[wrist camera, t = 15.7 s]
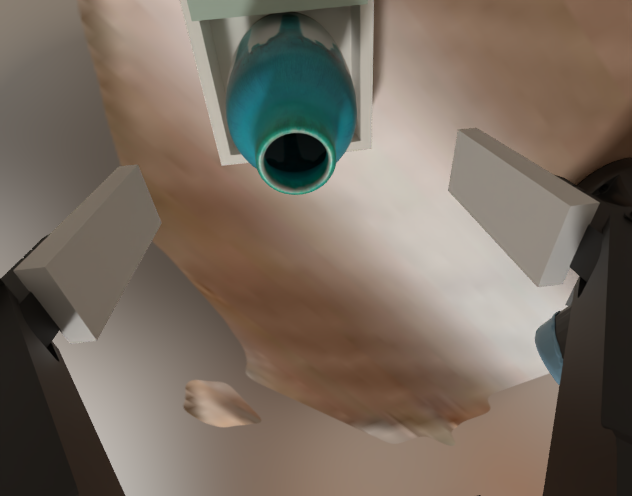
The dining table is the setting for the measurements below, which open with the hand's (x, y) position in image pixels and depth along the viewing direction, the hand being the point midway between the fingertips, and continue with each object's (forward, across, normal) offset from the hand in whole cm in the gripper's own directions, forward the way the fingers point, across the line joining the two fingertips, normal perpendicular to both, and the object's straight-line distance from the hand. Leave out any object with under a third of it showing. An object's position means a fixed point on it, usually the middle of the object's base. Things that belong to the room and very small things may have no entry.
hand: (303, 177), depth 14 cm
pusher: (+27, 0, -8) cm, 28 cm away
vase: (+27, 0, -2) cm, 27 cm away
